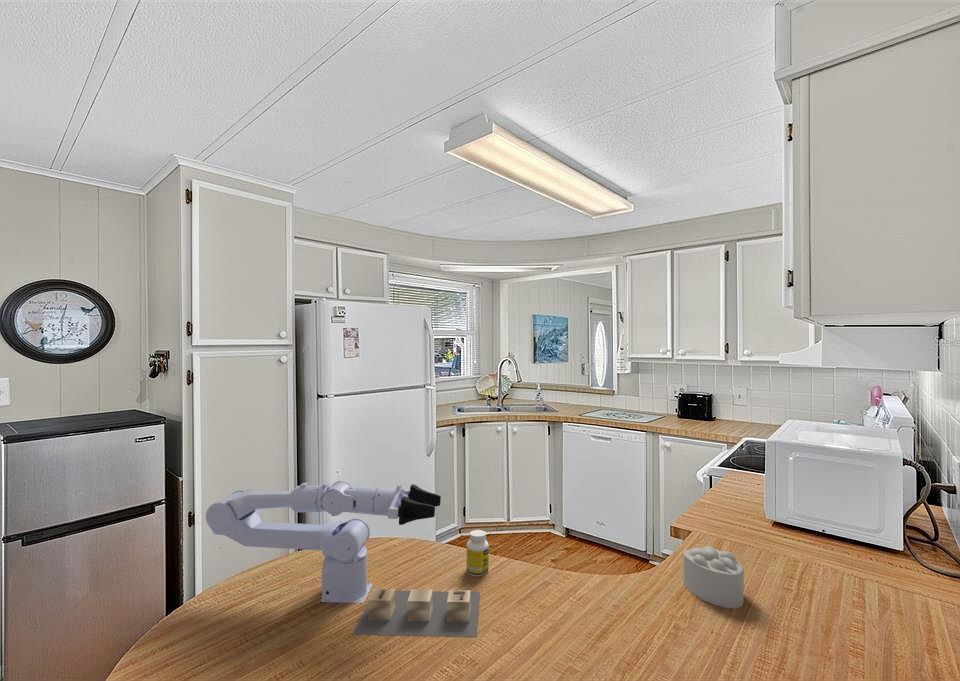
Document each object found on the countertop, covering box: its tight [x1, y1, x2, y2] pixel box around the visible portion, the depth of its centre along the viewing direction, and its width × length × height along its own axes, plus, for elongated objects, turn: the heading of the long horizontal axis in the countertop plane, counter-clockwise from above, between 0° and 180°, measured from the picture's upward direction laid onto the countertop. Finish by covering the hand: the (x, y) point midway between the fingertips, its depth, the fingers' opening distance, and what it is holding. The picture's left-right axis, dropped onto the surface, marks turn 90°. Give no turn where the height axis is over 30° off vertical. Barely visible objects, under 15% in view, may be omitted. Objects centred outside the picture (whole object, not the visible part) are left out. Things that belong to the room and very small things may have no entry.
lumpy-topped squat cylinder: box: [682, 546, 745, 609], centre depth 109 cm, size 10×13×9 cm
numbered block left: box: [367, 588, 396, 620], centre depth 100 cm, size 4×4×4 cm
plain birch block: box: [407, 588, 434, 621], centre depth 99 cm, size 4×4×4 cm
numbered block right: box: [447, 589, 472, 622], centre depth 99 cm, size 4×4×4 cm
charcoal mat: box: [352, 590, 481, 638], centre depth 100 cm, size 24×16×1 cm, turn 88°
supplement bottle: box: [466, 529, 490, 577], centre depth 118 cm, size 5×5×10 cm
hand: (437, 506), depth 106 cm, fingers open, 7 cm apart
